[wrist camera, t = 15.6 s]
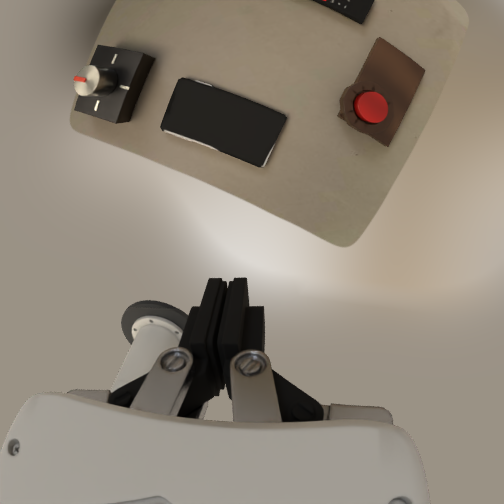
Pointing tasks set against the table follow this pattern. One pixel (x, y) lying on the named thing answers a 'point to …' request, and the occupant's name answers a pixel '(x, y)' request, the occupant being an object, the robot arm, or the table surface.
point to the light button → (371, 107)
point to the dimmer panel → (127, 88)
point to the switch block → (383, 89)
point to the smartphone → (222, 121)
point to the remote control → (349, 8)
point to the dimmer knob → (95, 81)
